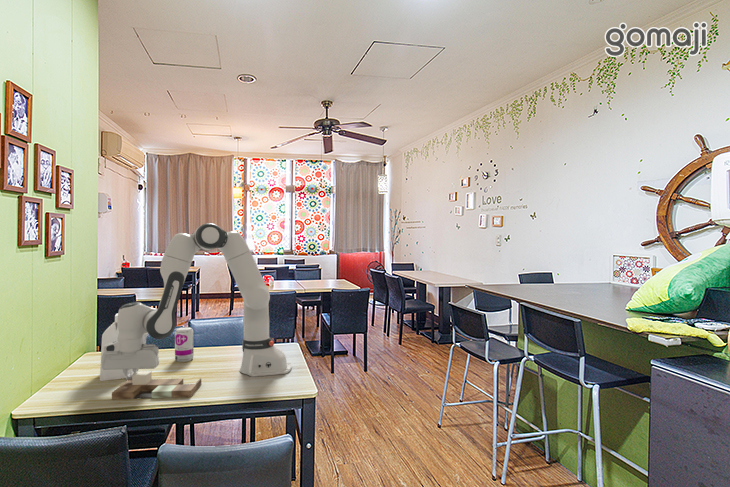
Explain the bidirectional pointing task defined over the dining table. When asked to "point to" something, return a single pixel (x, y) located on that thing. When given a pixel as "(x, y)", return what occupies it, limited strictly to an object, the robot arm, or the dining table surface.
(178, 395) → the board
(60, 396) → the dining table surface
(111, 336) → the milk
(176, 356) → the supplement can
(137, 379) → the cream block
